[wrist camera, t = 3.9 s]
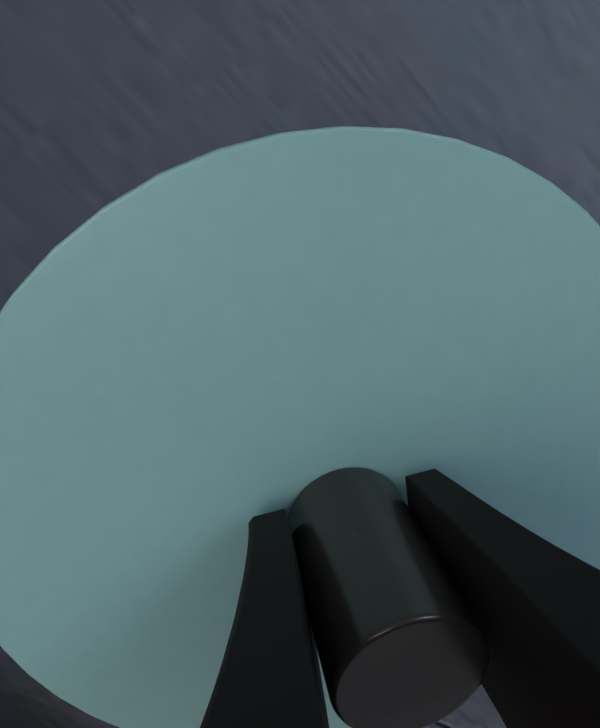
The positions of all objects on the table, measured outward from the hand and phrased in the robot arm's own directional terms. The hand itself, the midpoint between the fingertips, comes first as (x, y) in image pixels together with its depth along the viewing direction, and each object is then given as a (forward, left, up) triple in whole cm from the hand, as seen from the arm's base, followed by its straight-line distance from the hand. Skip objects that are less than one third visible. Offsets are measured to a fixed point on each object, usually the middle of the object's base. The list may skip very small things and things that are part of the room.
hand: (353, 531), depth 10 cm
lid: (0, 0, -1) cm, 1 cm away
